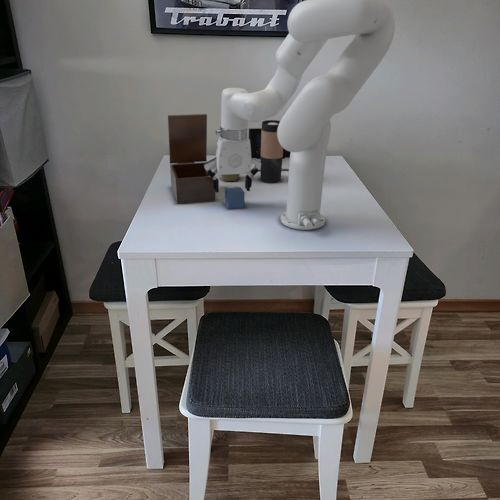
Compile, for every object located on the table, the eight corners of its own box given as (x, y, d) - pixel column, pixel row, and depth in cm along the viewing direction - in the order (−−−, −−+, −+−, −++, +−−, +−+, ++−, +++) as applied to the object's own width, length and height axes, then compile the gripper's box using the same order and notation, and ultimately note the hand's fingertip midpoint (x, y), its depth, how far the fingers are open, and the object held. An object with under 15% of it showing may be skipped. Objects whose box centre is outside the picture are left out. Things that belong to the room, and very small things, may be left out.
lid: (206, 114, 147) (204, 108, 151) (168, 116, 144) (166, 109, 148) (206, 161, 156) (203, 154, 160) (170, 163, 154) (168, 156, 157)
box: (215, 201, 148) (215, 176, 144) (177, 204, 145) (175, 179, 141) (206, 185, 161) (206, 162, 157) (171, 187, 158) (170, 164, 154)
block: (244, 208, 143) (244, 192, 141) (228, 209, 142) (228, 193, 139) (240, 202, 147) (240, 186, 145) (224, 203, 146) (224, 187, 144)
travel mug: (281, 176, 170) (284, 120, 161) (281, 183, 163) (284, 125, 154) (260, 175, 171) (262, 119, 161) (258, 182, 164) (260, 124, 155)
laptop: (251, 171, 175) (252, 136, 169) (247, 161, 186) (248, 128, 180) (299, 170, 177) (301, 135, 171) (292, 160, 188) (294, 127, 182)
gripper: (206, 137, 129) (205, 196, 137) (266, 136, 134) (262, 193, 142) (201, 130, 136) (201, 187, 144) (259, 130, 140) (256, 184, 148)
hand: (231, 190), depth 143 cm, fingers open, 9 cm apart
